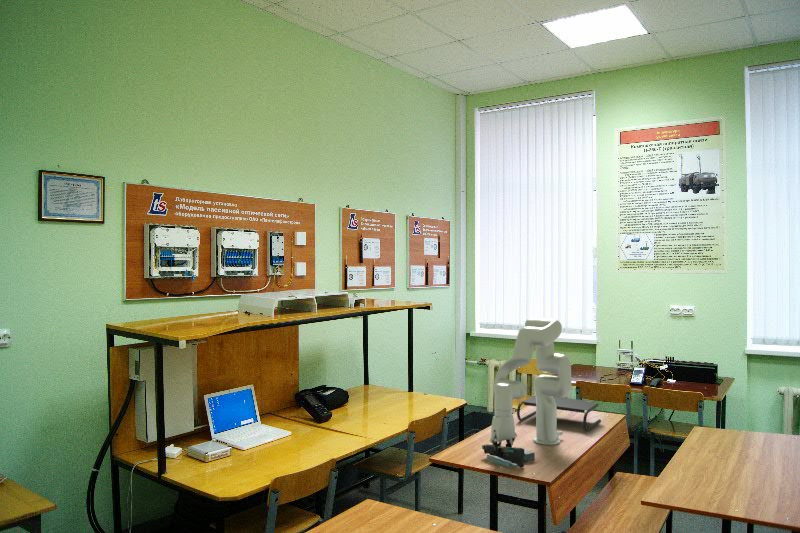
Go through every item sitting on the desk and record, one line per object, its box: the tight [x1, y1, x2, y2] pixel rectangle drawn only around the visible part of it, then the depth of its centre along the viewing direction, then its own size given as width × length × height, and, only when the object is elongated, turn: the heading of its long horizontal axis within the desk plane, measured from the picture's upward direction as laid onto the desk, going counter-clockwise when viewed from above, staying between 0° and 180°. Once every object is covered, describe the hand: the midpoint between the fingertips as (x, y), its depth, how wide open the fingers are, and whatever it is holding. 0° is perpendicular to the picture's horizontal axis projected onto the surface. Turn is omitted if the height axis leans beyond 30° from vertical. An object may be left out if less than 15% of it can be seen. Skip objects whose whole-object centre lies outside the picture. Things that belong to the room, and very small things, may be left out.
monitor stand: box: [516, 394, 602, 432], centre depth 308 cm, size 37×28×11 cm
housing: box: [515, 446, 536, 463], centre depth 248 cm, size 5×10×4 cm, turn 34°
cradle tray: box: [486, 454, 519, 469], centre depth 243 cm, size 7×13×2 cm, turn 34°
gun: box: [481, 443, 525, 469], centre depth 243 cm, size 4×20×10 cm, turn 41°
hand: (503, 455), depth 243 cm, fingers open, 5 cm apart
